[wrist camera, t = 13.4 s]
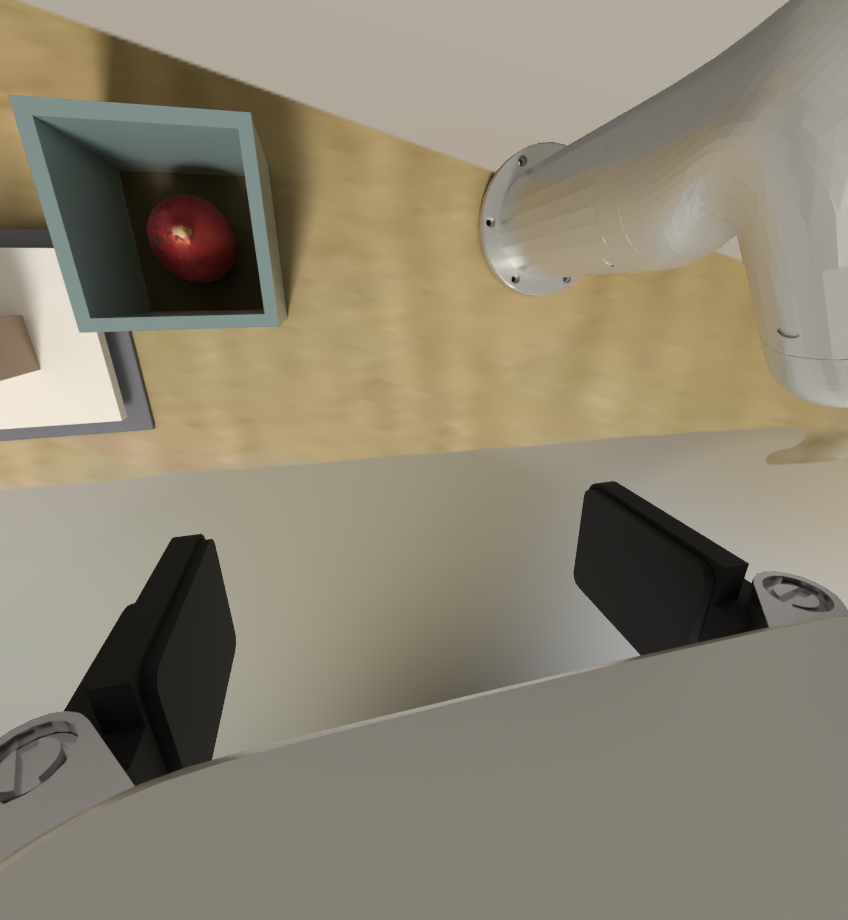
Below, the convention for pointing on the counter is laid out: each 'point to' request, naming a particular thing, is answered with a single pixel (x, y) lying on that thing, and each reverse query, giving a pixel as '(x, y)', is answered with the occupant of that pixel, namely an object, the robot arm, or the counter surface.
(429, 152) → the counter surface
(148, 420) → the mat
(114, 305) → the teal storage bin
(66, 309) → the lid
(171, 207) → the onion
